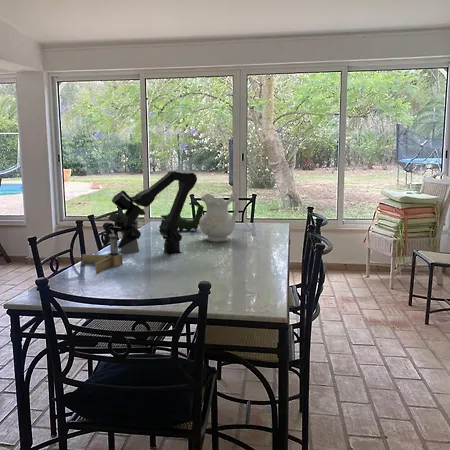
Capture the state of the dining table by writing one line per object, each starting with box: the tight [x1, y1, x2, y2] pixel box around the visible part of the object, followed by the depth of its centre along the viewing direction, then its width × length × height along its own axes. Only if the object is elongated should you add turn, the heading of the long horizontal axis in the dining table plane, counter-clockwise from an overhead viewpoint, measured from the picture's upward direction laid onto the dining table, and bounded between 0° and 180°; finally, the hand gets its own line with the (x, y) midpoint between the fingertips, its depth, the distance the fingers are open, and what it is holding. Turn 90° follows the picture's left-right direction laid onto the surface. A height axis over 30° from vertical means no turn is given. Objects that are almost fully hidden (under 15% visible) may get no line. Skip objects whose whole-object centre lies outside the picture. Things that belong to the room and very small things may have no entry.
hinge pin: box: [109, 233, 119, 256], centre depth 191 cm, size 4×4×13 cm
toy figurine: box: [160, 200, 205, 232], centre depth 267 cm, size 9×19×25 cm
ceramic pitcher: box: [198, 193, 240, 243], centre depth 241 cm, size 22×20×25 cm
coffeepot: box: [120, 218, 140, 254], centre depth 216 cm, size 15×9×18 cm, turn 33°
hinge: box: [81, 252, 124, 274], centre depth 190 cm, size 14×19×4 cm
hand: (111, 246), depth 190 cm, fingers open, 9 cm apart
